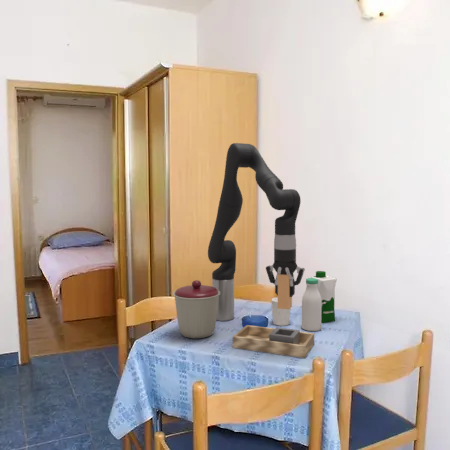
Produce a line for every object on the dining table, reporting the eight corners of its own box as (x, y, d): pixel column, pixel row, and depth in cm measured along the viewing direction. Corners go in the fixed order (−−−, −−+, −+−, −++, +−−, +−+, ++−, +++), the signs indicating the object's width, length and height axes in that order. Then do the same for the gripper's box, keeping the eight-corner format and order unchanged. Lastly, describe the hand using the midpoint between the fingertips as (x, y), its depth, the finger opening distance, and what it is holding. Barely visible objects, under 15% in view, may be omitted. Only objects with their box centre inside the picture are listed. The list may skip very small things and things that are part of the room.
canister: (183, 325, 194) (182, 274, 192) (226, 328, 190) (225, 276, 187) (166, 340, 177) (165, 284, 175) (213, 344, 172) (212, 287, 170)
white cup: (278, 327, 191) (278, 303, 190) (267, 322, 198) (267, 298, 196) (294, 324, 194) (294, 300, 193) (283, 319, 201) (283, 296, 200)
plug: (277, 308, 166) (277, 274, 165) (281, 305, 170) (281, 272, 168) (288, 309, 164) (288, 275, 163) (291, 306, 168) (292, 273, 167)
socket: (269, 348, 166) (269, 334, 166) (276, 340, 174) (276, 327, 174) (293, 351, 163) (293, 337, 162) (299, 343, 171) (299, 330, 170)
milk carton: (325, 315, 206) (325, 270, 204) (338, 321, 198) (339, 273, 196) (308, 318, 202) (308, 271, 200) (321, 324, 194) (321, 276, 192)
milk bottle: (321, 332, 184) (322, 281, 182) (301, 331, 186) (301, 280, 184) (321, 326, 192) (322, 277, 190) (302, 324, 193) (302, 276, 191)
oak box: (232, 347, 169) (232, 336, 168) (246, 335, 182) (246, 325, 181) (304, 358, 159) (305, 346, 158) (314, 344, 171) (314, 333, 171)
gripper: (262, 247, 164) (262, 296, 166) (302, 249, 159) (302, 300, 160) (268, 244, 171) (268, 291, 173) (307, 246, 166) (307, 295, 167)
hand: (284, 295), depth 167 cm, fingers closed on plug, 4 cm apart
